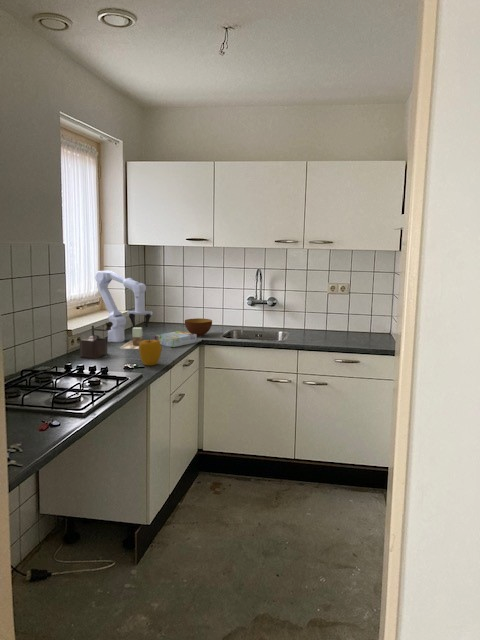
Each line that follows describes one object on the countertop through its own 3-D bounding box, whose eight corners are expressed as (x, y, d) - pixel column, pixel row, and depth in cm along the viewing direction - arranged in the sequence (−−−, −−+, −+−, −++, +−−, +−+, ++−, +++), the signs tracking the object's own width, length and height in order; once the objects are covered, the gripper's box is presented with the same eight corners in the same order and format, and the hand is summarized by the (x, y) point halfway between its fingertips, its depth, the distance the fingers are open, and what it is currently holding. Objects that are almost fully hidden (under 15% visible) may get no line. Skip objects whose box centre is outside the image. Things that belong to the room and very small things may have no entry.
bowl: (187, 339, 335) (187, 323, 333) (182, 334, 351) (182, 318, 350) (214, 337, 339) (214, 322, 338) (209, 332, 356) (208, 318, 355)
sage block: (132, 337, 309) (132, 328, 308) (134, 335, 313) (134, 327, 312) (140, 337, 308) (140, 328, 307) (142, 335, 313) (142, 327, 312)
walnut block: (133, 345, 310) (132, 337, 309) (135, 343, 314) (135, 335, 313) (140, 345, 309) (140, 337, 308) (142, 344, 314) (142, 335, 313)
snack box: (154, 344, 316) (173, 347, 307) (154, 335, 315) (173, 338, 306) (178, 339, 333) (197, 342, 324) (178, 330, 332) (197, 333, 323)
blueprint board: (118, 349, 302) (118, 348, 302) (130, 341, 326) (130, 340, 325) (148, 350, 301) (148, 348, 300) (158, 342, 324) (158, 340, 324)
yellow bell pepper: (163, 362, 273) (162, 337, 271) (159, 367, 262) (159, 341, 260) (141, 361, 273) (140, 337, 271) (137, 367, 262) (136, 341, 260)
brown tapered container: (95, 359, 278) (94, 325, 275) (79, 356, 283) (78, 323, 281) (115, 353, 292) (114, 321, 289) (100, 351, 297) (99, 319, 294)
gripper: (125, 304, 311) (126, 327, 313) (150, 304, 310) (150, 328, 312) (129, 303, 318) (129, 325, 320) (153, 303, 317) (153, 326, 319)
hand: (140, 326), depth 316 cm, fingers open, 7 cm apart
